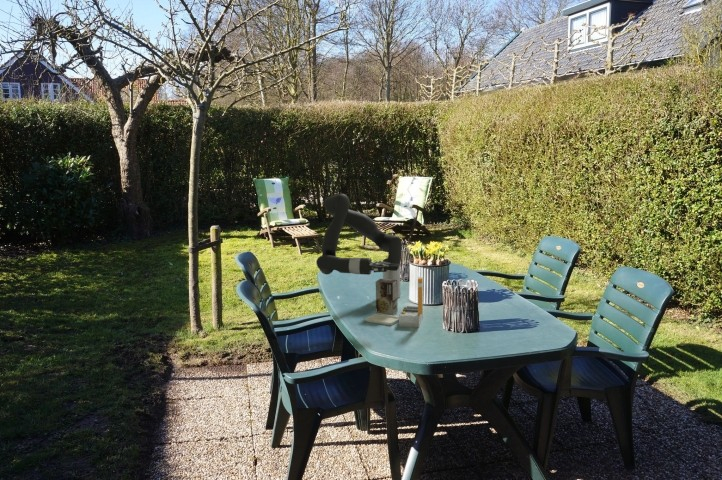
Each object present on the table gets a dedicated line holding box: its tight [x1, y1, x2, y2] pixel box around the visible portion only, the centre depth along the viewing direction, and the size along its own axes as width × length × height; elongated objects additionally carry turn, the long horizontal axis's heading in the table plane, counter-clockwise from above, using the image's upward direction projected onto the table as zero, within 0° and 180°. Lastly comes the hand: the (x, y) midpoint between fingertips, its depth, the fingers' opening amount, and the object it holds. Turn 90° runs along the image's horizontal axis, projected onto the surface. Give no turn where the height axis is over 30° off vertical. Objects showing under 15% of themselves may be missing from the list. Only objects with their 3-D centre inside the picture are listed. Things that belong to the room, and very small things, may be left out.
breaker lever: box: [417, 277, 424, 314], centre depth 252 cm, size 3×2×16 cm, turn 167°
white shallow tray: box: [365, 312, 399, 327], centre depth 261 cm, size 11×14×1 cm
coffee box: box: [375, 278, 399, 316], centre depth 271 cm, size 9×6×16 cm
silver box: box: [398, 305, 424, 328], centre depth 257 cm, size 14×9×6 cm, turn 167°
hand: (397, 267), depth 252 cm, fingers open, 3 cm apart
